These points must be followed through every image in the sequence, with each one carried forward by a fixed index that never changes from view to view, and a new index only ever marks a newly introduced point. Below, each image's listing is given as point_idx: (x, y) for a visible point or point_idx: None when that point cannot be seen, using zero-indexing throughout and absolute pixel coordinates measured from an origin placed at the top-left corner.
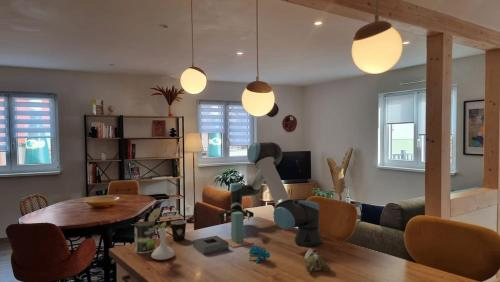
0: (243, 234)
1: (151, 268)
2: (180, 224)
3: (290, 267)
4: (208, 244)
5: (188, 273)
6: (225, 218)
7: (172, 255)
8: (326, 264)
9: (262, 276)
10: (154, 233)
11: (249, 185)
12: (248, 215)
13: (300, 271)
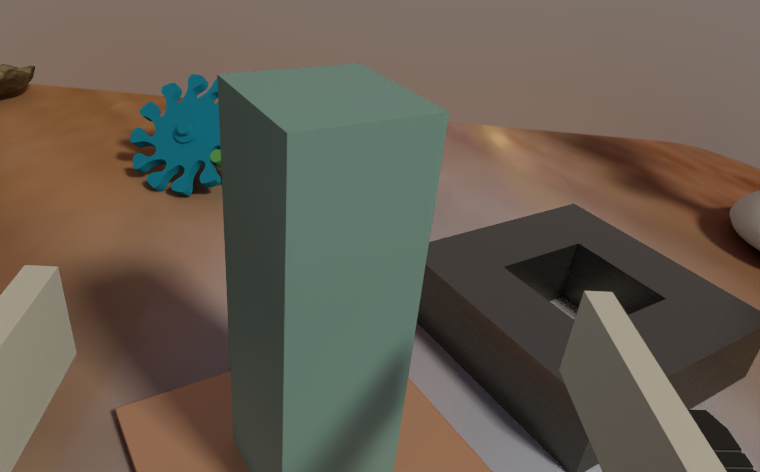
0: (231, 369)
1: (738, 181)
2: None
3: (65, 126)
4: (566, 234)
5: (541, 143)
6: (573, 332)
7: (731, 212)
8: None
9: None
10: None
11: None
12: (27, 284)
13: (45, 106)
